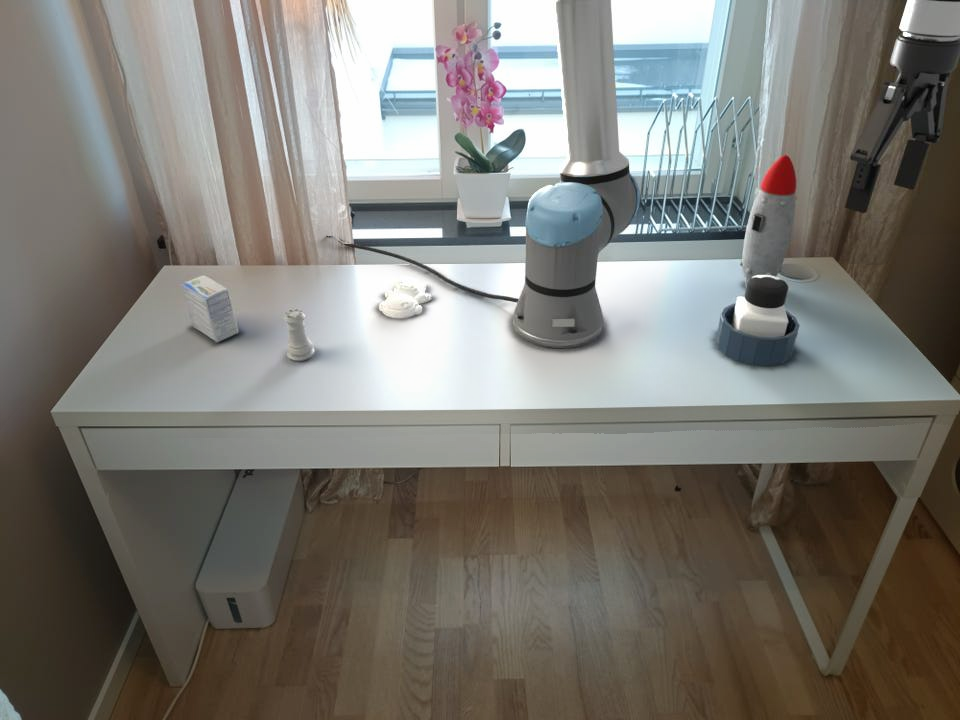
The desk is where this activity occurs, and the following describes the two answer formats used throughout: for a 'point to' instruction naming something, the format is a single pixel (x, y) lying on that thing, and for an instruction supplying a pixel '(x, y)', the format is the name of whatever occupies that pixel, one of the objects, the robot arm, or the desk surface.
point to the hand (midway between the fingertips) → (880, 198)
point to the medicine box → (210, 308)
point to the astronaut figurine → (404, 299)
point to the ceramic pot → (755, 342)
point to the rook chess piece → (298, 337)
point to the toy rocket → (770, 222)
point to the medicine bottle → (762, 307)
